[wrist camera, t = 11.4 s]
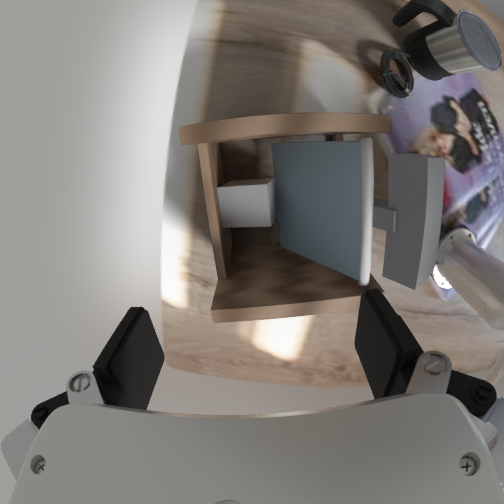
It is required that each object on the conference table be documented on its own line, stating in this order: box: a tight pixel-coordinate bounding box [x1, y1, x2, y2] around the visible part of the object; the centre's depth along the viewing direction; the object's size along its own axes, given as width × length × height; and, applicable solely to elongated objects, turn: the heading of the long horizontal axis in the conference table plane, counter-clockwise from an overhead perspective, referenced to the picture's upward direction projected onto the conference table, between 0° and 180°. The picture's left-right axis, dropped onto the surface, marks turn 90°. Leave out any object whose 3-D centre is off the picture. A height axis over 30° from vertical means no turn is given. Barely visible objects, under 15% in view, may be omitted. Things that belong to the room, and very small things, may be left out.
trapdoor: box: [271, 137, 445, 290], centre depth 28 cm, size 20×15×6 cm
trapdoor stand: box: [179, 113, 392, 323], centre depth 31 cm, size 18×19×16 cm
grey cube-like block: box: [217, 178, 278, 228], centre depth 34 cm, size 5×5×6 cm
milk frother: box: [381, 0, 502, 98], centre depth 22 cm, size 14×16×15 cm
